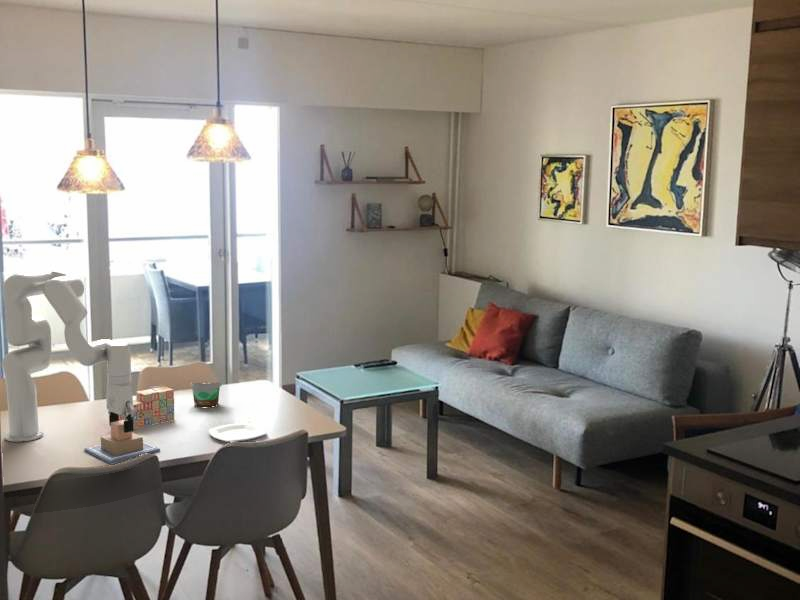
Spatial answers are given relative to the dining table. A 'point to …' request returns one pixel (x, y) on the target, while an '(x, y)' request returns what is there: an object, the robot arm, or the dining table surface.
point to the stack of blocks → (152, 407)
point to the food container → (206, 393)
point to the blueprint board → (120, 448)
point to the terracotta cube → (119, 430)
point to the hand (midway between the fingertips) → (121, 428)
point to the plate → (237, 432)
